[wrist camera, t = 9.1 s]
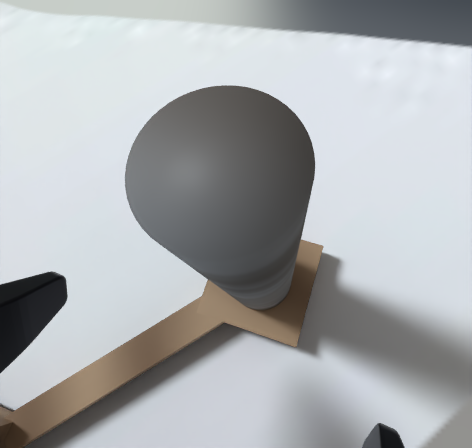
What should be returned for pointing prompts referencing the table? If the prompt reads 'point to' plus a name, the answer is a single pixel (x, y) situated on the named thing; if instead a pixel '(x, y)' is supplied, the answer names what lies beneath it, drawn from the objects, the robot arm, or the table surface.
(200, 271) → the grey knob lever
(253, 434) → the table surface
